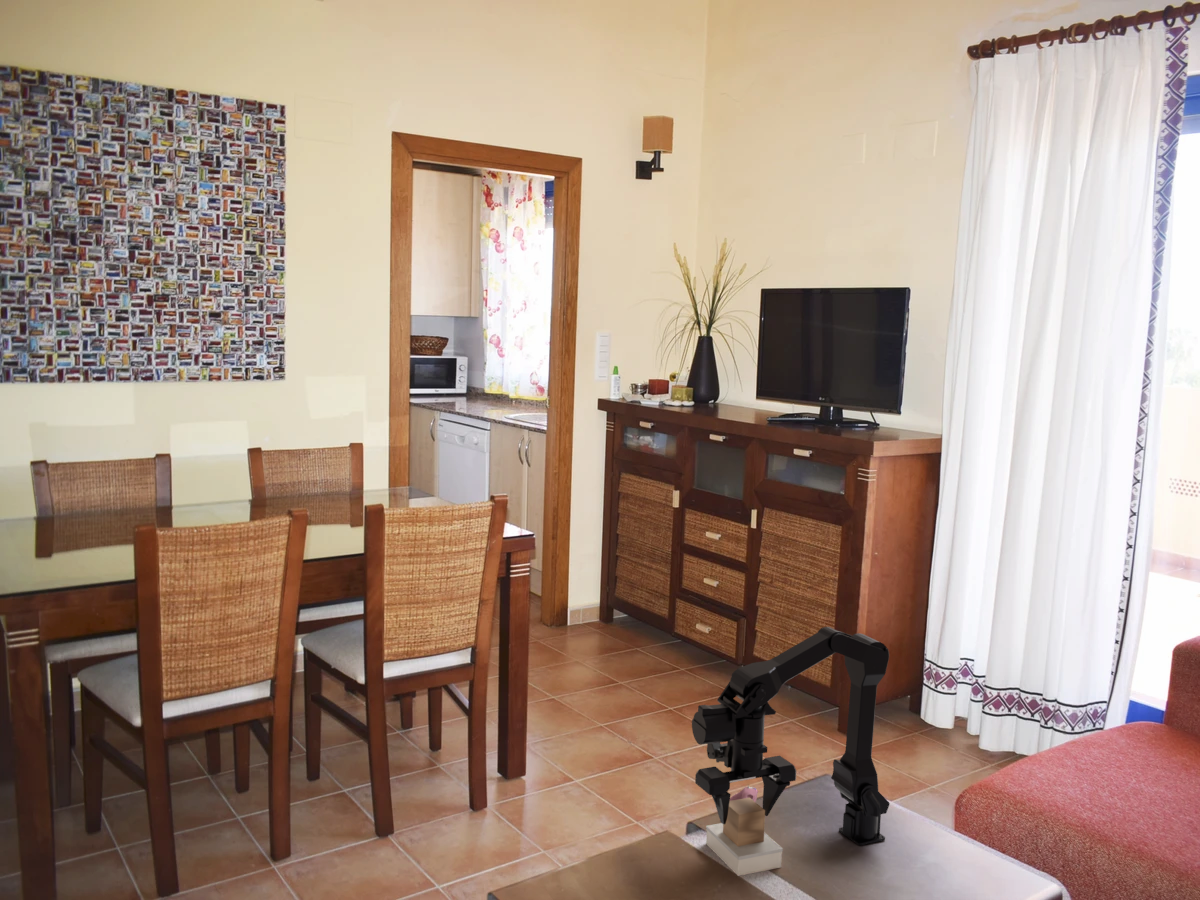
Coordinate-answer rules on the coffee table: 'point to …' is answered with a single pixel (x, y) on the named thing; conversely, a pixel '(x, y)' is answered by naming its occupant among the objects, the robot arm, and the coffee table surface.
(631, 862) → the coffee table surface
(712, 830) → the white rectangular box
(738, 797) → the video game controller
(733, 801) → the walnut block
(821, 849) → the coffee table surface
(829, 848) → the coffee table surface
